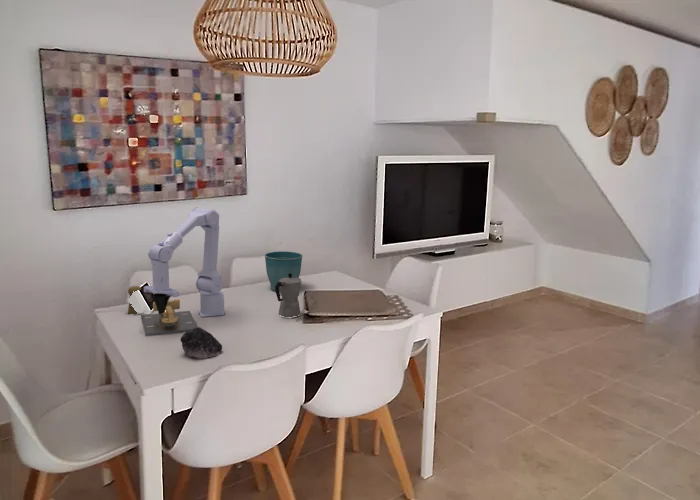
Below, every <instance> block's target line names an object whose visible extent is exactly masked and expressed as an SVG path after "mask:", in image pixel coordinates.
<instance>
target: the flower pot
mask: <svg viewBox="0 0 700 500" xmlns="http://www.w3.org/2000/svg"><path fill="white" fill-rule="evenodd" d="M264 258H265V259H264V260H265V270H266V275H267V278H268V282H269V284H270V285H269V286H270V290H272V291H274V292H276V291H275V286H276V284H277V283H278V282H279V280H280V279H281V278H289V276H288V274H289V273H291V274H292V278H300V275H301V269H302V263H303V262H302V261H303V254H302V253H299V252H295V251H288V250H287V251H286V250H285V251H284V250H282V251H280V250H278V251H270V252H266V253H265V254H264ZM279 291H280V287H279Z"/></svg>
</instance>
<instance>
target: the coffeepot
mask: <svg viewBox="0 0 700 500" xmlns="http://www.w3.org/2000/svg"><path fill="white" fill-rule="evenodd" d="M288 276H289V278H281V279H280V280H279V282H278V283H277V284H276V286H275V291H274V292H275V294H276V297H277V301H278V302H280V303H279V308H278V314H279V315H281V316H284V317H293V316H298V315H299V314H300V313H301V309H300V302H299V301H300V300H299V296H300V292H301V287H302V286H301V285H302V278H300V277H299V278H292V274H291V273H289V274H288ZM279 287H280V292H279ZM279 315H278V316H279ZM300 315H301V314H300Z"/></svg>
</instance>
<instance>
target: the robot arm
mask: <svg viewBox="0 0 700 500" xmlns="http://www.w3.org/2000/svg"><path fill="white" fill-rule="evenodd" d="M219 224H220V214H219V213H218V212H217V211H216V210H215V209H207V208H201V207H193V208H192V209H191V210H190V211H189V213H188V217H187V218H186V219H185V220H184V221H183V222H182V223H181V225H180V226H179V227H178V228H177V229H176V231H170V232H167V234H166V236H165V237H163V239H162V240H160V241H159V243H158V244H155V245H152V246H151V247H150V248H149V251H148V252H147V255H148V258H149V260H150V264H151V269H152V286H150V285H146V286H143V293H151V294H153V295H151V299H152V300H153V302H155V304H156V306H157V309H158V311H157V312H158V313H157V314H159V313H160V314H162V313H164V312H165V309H166V305H167V303H168V301H170V298H171V297H173V298H178V297H179V296H180V291H179V290H176V289H173V288H170V277H169V275H170V272H169V270H170V269H169V267H170V265H169V261H171V260H172V257H173V254H174V251H175V250H177V248H178V247H179V246H180V245H181V244H182V243H183V238H184V237H185V236H186V235H188V234H189V233H190V232H191V231H193V230H194V229H195V227H200V228H202V229H203V231H204V244H203V245H204V246H203V259H202V269H201V270H200V271H199V272H198V273H197V278H196V281H195V288H196V289H197V290H198V293H199V297H200V298H199V299H200V300H199V302H200V304H199V307H200V309H198V311H197V312H198V314H199V315H200V317H201V318H205V317H216V316H218V317H219V316H225V297H224V293H223V292H222V289H223V281H222V274H221V273H220V272H219V271H218V270H217V268H218V267H217V265H218V252H219V250H218V249H219V238H220V236H219V235H220V225H219Z"/></svg>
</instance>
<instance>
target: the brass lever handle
mask: <svg viewBox="0 0 700 500" xmlns="http://www.w3.org/2000/svg"><path fill="white" fill-rule="evenodd" d="M176 323H178V317H177V316H174V312H173V311H172V308H171V306H166V316H165V317H162V324H165V325H172V324H176Z"/></svg>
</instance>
